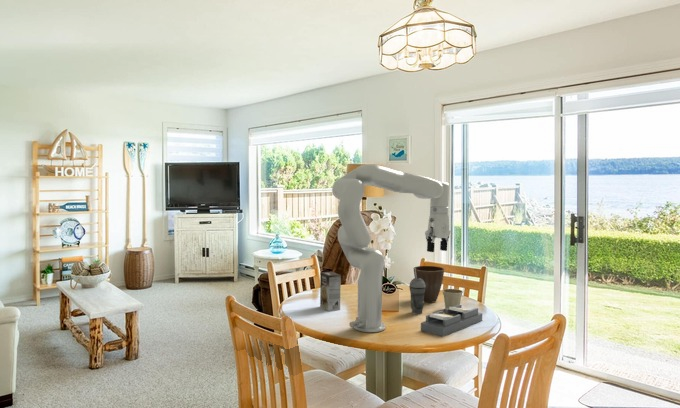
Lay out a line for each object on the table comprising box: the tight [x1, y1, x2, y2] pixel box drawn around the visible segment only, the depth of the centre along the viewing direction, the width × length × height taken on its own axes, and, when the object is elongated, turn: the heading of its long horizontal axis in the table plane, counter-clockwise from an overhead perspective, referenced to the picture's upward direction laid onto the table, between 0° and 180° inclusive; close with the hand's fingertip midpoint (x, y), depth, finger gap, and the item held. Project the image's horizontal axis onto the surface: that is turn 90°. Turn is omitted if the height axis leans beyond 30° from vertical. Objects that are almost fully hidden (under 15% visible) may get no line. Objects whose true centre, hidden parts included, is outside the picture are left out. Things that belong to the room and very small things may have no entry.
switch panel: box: [420, 304, 483, 337], centre depth 184 cm, size 30×10×5 cm, turn 135°
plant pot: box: [412, 265, 445, 303], centre depth 225 cm, size 15×15×16 cm
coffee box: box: [319, 271, 342, 312], centre depth 209 cm, size 9×6×16 cm
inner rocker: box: [429, 313, 453, 320], centre depth 179 cm, size 10×6×1 cm, turn 135°
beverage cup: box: [408, 267, 426, 315], centre depth 203 cm, size 7×7×20 cm
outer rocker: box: [449, 307, 470, 313], centre depth 189 cm, size 10×6×1 cm, turn 135°
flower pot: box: [441, 288, 464, 309], centre depth 208 cm, size 9×9×9 cm
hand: (437, 251), depth 194 cm, fingers open, 9 cm apart
